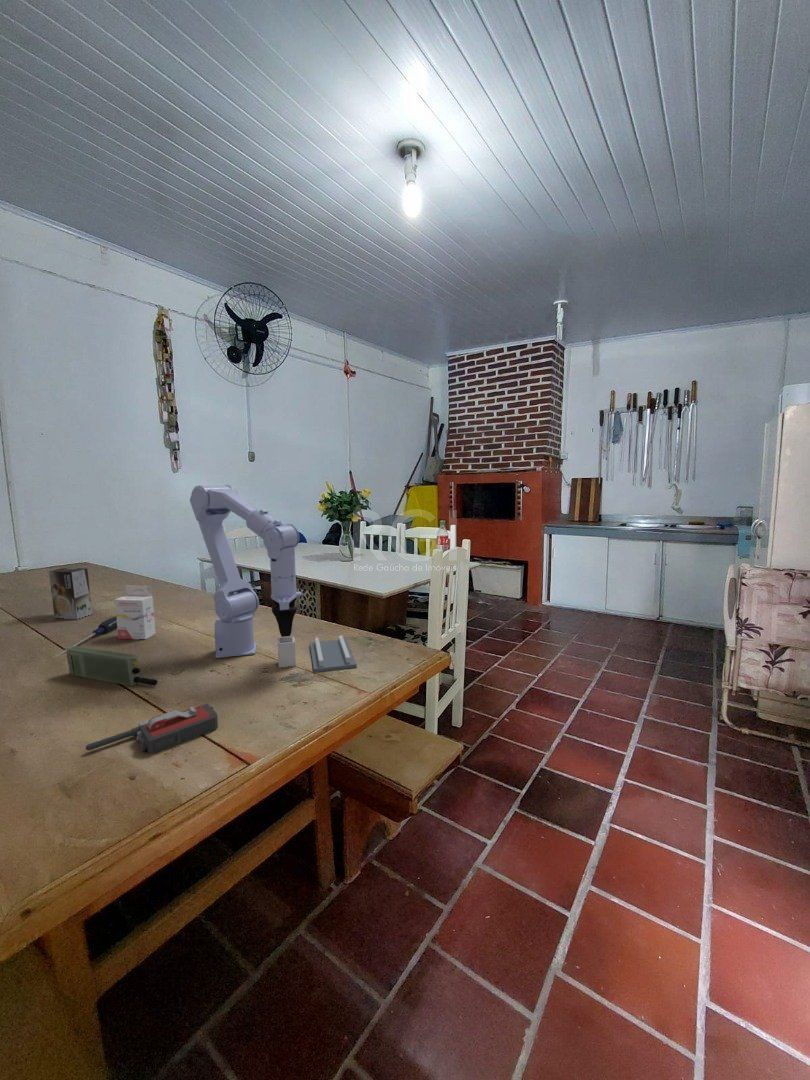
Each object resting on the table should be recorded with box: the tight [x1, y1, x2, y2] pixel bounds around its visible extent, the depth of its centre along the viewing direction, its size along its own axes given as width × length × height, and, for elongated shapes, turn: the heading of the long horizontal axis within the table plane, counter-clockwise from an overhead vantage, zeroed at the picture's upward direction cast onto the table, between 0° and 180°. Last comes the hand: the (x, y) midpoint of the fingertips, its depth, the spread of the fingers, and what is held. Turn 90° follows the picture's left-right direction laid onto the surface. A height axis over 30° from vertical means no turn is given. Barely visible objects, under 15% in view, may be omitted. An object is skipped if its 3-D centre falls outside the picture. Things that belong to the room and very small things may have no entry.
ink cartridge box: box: [114, 584, 157, 640], centre depth 128 cm, size 9×5×15 cm, turn 84°
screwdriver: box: [53, 615, 117, 659], centre depth 127 cm, size 26×4×4 cm, turn 179°
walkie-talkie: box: [85, 703, 219, 755], centre depth 78 cm, size 9×4×20 cm
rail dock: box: [309, 634, 358, 673], centre depth 114 cm, size 10×18×2 cm, turn 15°
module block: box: [277, 636, 297, 668], centre depth 109 cm, size 4×4×6 cm
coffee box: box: [48, 567, 93, 620], centre depth 148 cm, size 9×6×16 cm
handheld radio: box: [66, 645, 158, 687], centre depth 101 cm, size 7×3×25 cm
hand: (285, 630), depth 108 cm, fingers open, 7 cm apart
